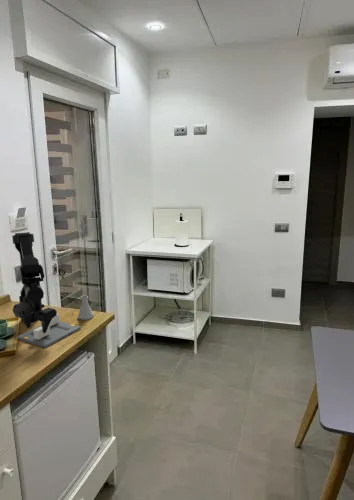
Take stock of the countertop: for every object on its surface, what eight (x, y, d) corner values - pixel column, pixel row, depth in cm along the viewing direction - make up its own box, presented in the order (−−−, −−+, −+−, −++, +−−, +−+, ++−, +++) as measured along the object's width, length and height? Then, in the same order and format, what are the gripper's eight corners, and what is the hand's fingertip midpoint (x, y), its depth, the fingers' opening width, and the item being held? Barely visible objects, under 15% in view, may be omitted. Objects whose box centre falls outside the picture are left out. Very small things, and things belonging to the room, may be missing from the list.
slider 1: (34, 338, 142) (33, 329, 142) (46, 332, 148) (45, 324, 147) (38, 339, 141) (37, 331, 140) (50, 333, 146) (49, 325, 146)
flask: (89, 321, 162) (88, 299, 160) (74, 319, 164) (73, 298, 161) (96, 314, 169) (95, 294, 167) (81, 313, 170) (80, 293, 168)
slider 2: (44, 326, 153) (44, 318, 153) (55, 321, 159) (54, 313, 158) (48, 327, 152) (48, 319, 152) (59, 322, 157) (58, 314, 157)
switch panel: (17, 338, 145) (17, 336, 145) (53, 321, 161) (53, 319, 161) (45, 347, 138) (45, 345, 137) (80, 328, 154) (80, 326, 154)
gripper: (-1, 296, 140) (3, 333, 143) (32, 304, 131) (36, 344, 134) (23, 287, 149) (27, 322, 153) (56, 295, 140) (59, 332, 144)
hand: (36, 330), depth 146 cm, fingers open, 9 cm apart
